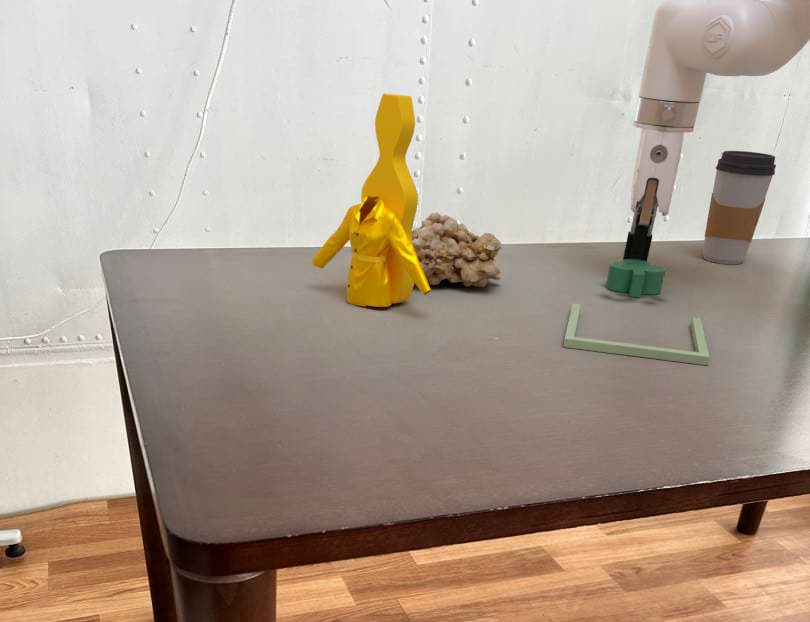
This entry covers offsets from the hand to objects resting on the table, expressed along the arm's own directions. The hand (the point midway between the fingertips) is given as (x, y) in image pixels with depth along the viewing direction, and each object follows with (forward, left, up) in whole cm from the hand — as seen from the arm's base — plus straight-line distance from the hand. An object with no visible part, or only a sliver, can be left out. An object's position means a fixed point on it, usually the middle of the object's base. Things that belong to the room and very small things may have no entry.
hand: (634, 263), depth 113 cm
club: (+3, +4, -2) cm, 5 cm away
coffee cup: (-23, -4, -2) cm, 23 cm away
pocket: (+17, +20, -2) cm, 26 cm away
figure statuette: (+39, -1, -2) cm, 39 cm away
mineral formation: (+25, -7, -2) cm, 26 cm away
